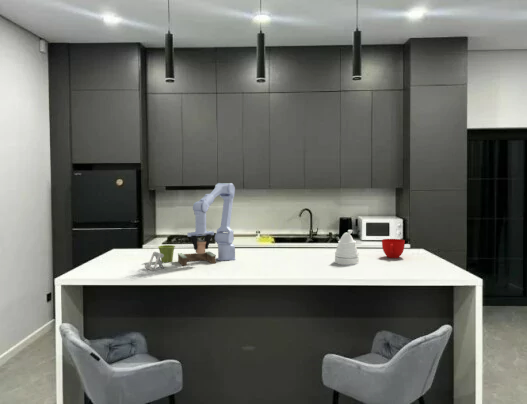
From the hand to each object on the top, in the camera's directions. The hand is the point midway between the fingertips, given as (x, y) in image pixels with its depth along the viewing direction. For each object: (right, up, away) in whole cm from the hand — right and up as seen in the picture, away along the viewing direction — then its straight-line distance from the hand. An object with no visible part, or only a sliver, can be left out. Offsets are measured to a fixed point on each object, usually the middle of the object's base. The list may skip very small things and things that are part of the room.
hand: (201, 249), depth 241 cm
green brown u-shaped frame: (-4, -9, +10) cm, 14 cm away
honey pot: (+79, -8, +9) cm, 80 cm away
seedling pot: (0, -2, 0) cm, 2 cm away
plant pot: (-21, -9, +14) cm, 27 cm away
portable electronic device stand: (-23, -10, -7) cm, 26 cm away
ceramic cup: (+109, -8, +24) cm, 112 cm away
